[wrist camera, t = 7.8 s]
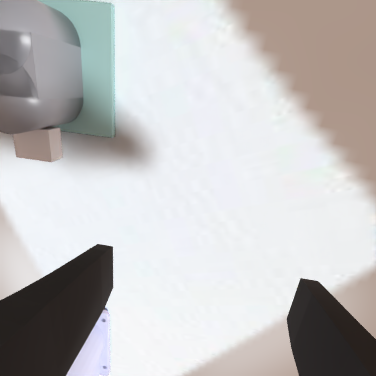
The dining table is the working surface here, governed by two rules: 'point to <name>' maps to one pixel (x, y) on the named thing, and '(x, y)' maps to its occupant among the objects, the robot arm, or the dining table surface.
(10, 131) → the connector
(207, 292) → the dining table surface
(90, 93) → the mat
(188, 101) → the dining table surface
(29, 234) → the dining table surface
